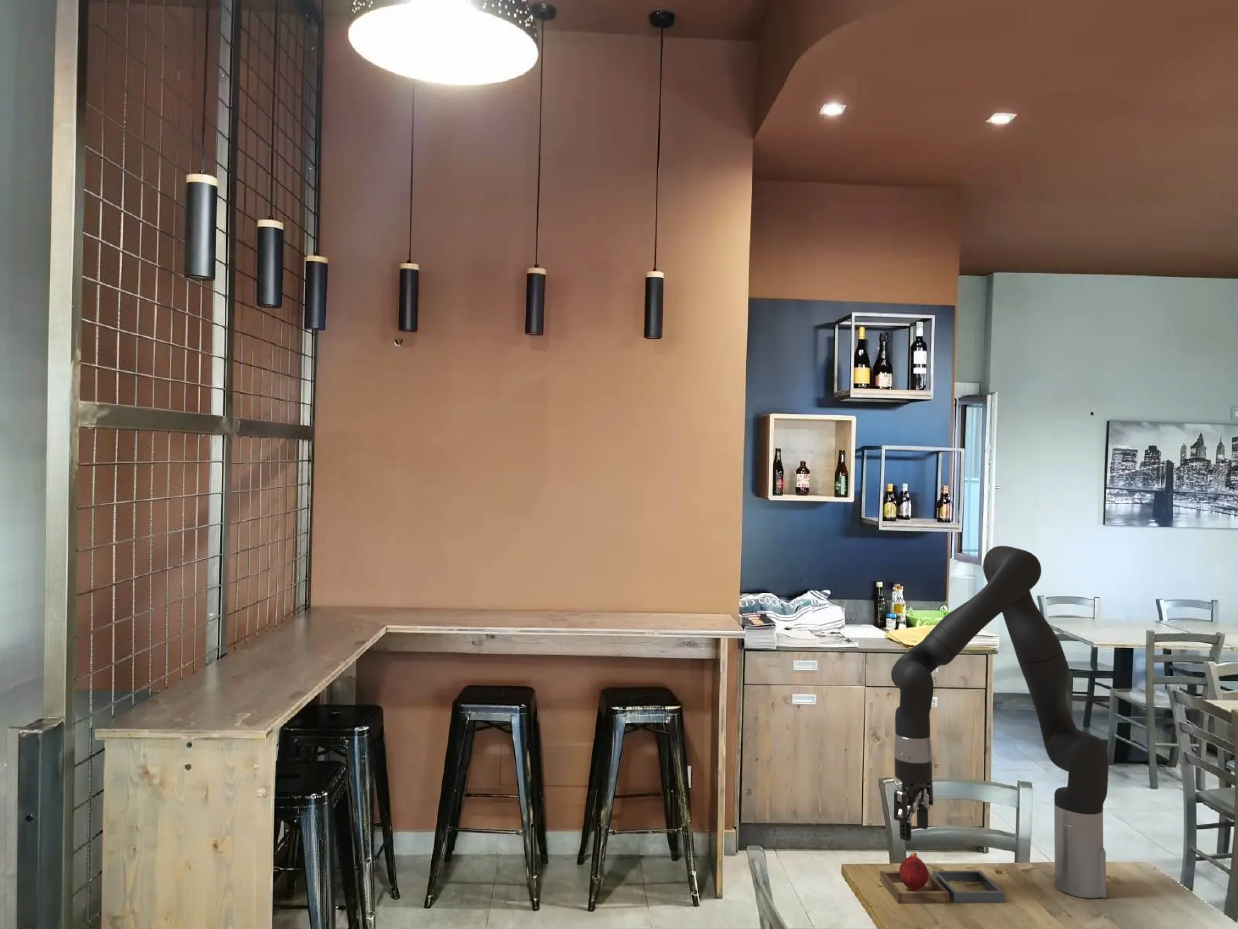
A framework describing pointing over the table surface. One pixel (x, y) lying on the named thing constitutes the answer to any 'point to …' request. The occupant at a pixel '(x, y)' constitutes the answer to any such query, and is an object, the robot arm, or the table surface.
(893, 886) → the walnut frame
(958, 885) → the table surface
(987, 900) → the grey frame
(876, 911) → the table surface
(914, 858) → the pomegranate
